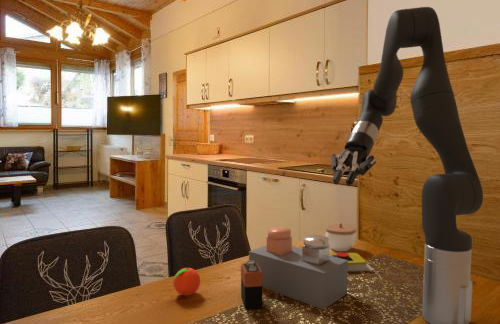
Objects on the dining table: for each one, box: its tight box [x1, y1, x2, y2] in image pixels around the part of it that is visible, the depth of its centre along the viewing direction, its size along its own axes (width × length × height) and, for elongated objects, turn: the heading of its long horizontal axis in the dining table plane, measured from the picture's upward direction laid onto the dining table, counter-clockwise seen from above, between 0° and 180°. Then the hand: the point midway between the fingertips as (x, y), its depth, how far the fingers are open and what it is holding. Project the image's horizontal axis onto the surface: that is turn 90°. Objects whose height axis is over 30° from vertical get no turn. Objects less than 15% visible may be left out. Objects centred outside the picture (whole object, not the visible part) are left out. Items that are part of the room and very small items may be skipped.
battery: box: [240, 260, 263, 310], centre depth 93 cm, size 4×7×10 cm, turn 10°
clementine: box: [172, 267, 201, 296], centre depth 98 cm, size 8×7×7 cm
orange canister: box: [266, 226, 293, 255], centre depth 105 cm, size 6×6×9 cm
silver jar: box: [301, 234, 330, 266], centre depth 97 cm, size 6×6×9 cm
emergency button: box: [329, 251, 374, 273], centre depth 119 cm, size 9×4×15 cm
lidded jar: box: [325, 222, 357, 252], centre depth 136 cm, size 11×11×9 cm
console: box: [248, 244, 349, 310], centre depth 102 cm, size 24×12×9 cm, turn 48°
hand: (341, 183), depth 106 cm, fingers open, 3 cm apart
